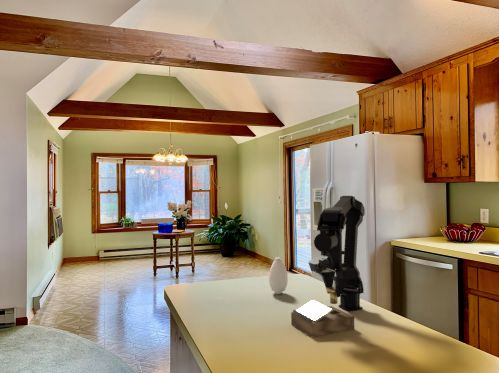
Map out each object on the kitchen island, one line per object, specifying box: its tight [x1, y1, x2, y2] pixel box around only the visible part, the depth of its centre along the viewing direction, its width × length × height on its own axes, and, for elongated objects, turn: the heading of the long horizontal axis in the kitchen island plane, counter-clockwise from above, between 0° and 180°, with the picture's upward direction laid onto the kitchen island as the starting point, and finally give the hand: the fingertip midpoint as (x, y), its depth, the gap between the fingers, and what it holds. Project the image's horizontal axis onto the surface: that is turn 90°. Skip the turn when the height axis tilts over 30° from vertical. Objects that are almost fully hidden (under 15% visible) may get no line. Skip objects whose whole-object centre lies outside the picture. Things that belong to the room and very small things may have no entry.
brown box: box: [290, 305, 355, 338], centre depth 122 cm, size 16×12×5 cm
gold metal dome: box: [325, 286, 338, 305], centre depth 124 cm, size 5×5×5 cm
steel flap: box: [295, 299, 333, 322], centre depth 121 cm, size 7×11×1 cm, turn 24°
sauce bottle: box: [268, 252, 289, 295], centre depth 162 cm, size 8×8×18 cm
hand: (333, 295), depth 124 cm, fingers closed on gold metal dome, 5 cm apart
